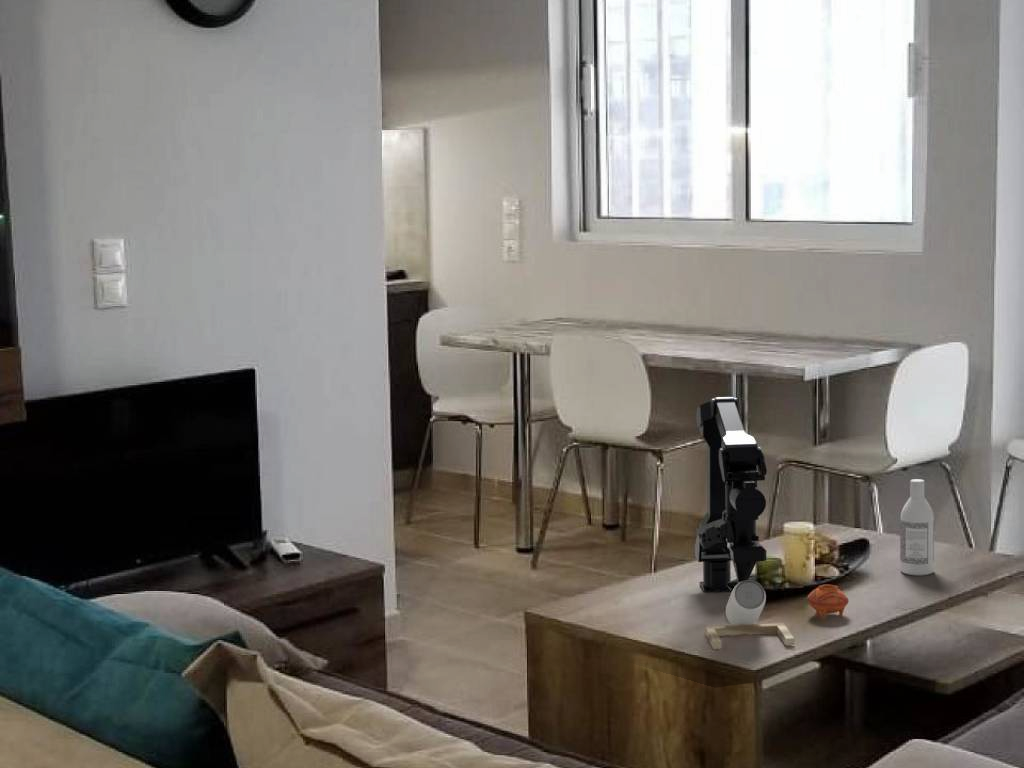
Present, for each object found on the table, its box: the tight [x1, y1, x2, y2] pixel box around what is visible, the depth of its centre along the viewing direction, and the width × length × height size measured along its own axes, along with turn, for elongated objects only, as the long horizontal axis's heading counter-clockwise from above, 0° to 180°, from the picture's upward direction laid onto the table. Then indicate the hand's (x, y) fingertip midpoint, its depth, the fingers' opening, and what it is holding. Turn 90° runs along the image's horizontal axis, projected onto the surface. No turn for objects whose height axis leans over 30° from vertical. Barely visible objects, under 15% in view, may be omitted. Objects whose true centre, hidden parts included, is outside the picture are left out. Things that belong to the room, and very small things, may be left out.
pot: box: [806, 584, 849, 621], centre depth 319 cm, size 8×8×7 cm
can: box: [725, 579, 767, 625], centre depth 308 cm, size 6×6×12 cm
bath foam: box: [899, 478, 935, 576], centre depth 347 cm, size 7×7×20 cm
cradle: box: [704, 622, 795, 650], centre depth 305 cm, size 10×15×2 cm, turn 92°
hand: (741, 587), depth 311 cm, fingers closed
